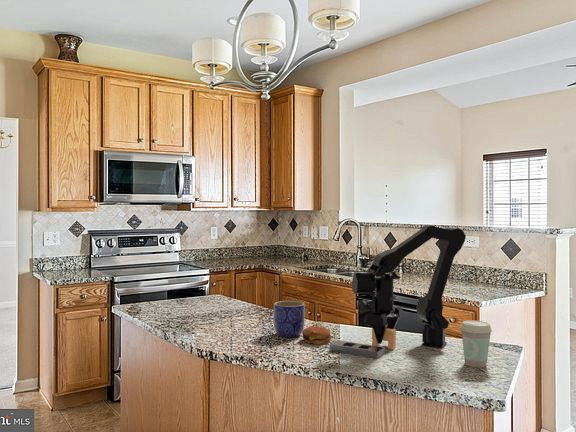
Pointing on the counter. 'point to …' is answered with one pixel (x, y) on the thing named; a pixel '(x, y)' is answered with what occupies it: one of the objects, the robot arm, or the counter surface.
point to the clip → (386, 338)
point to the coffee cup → (475, 342)
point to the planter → (289, 318)
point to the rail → (357, 349)
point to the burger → (316, 335)
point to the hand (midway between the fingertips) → (383, 341)
